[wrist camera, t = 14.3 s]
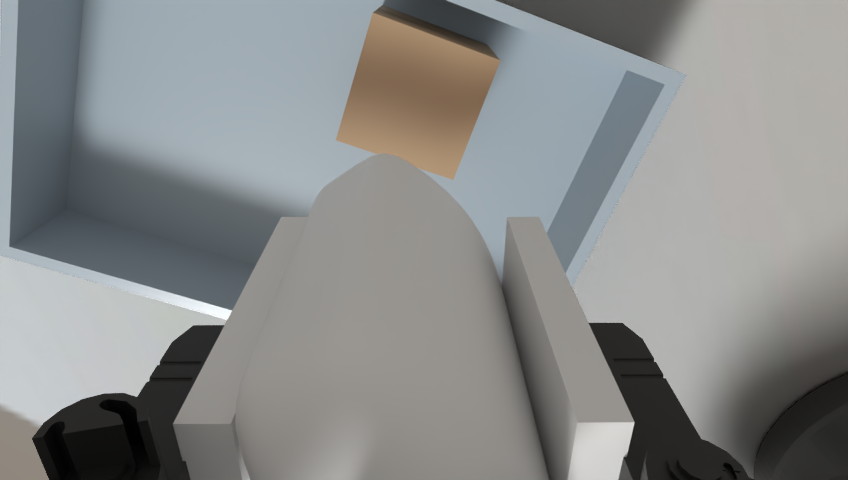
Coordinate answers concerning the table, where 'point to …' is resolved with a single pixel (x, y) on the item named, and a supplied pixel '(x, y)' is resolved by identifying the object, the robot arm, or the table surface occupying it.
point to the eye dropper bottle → (388, 345)
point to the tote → (281, 132)
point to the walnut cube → (417, 92)
